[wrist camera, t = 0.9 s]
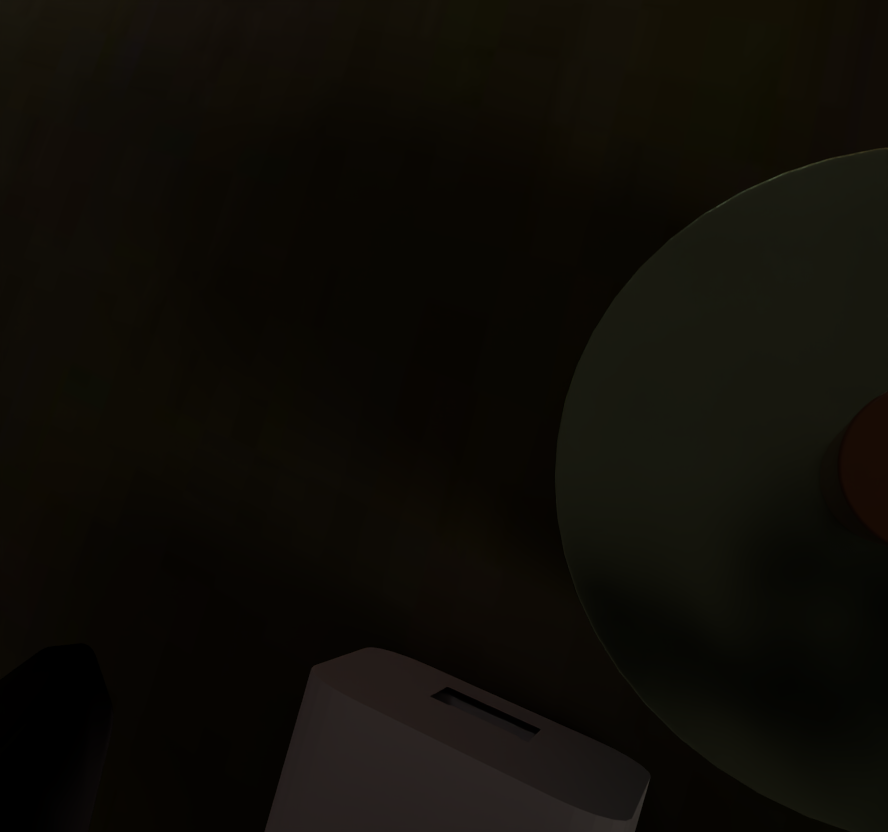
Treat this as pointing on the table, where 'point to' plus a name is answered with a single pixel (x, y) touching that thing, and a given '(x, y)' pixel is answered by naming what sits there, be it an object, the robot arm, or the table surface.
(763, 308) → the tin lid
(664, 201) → the table surface
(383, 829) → the charger
